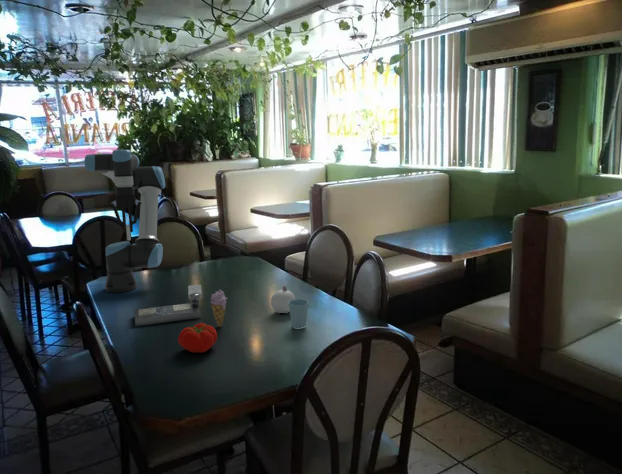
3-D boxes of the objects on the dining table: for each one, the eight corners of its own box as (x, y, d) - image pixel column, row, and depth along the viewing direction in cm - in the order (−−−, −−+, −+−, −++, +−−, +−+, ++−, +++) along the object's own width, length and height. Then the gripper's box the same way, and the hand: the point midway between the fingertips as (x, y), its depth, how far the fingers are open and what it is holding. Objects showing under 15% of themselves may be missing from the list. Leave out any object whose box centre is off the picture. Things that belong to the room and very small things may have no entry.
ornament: (299, 310, 217) (298, 284, 215) (288, 318, 208) (287, 290, 206) (278, 307, 222) (277, 281, 219) (267, 315, 213) (266, 287, 210)
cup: (302, 332, 194) (302, 306, 192) (285, 329, 197) (285, 303, 195) (311, 325, 200) (311, 300, 198) (295, 322, 204) (294, 298, 202)
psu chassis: (135, 316, 213) (134, 304, 212) (198, 308, 222) (197, 297, 221) (135, 326, 202) (134, 313, 201) (202, 317, 210) (201, 305, 209)
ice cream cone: (231, 324, 202) (230, 289, 199) (224, 330, 196) (222, 293, 193) (217, 323, 204) (215, 287, 201) (209, 328, 198) (207, 292, 195)
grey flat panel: (200, 288, 232) (200, 283, 231) (202, 300, 215) (201, 295, 215) (188, 289, 230) (188, 284, 230) (188, 301, 214) (188, 296, 213)
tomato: (182, 361, 170) (181, 336, 168) (176, 347, 181) (175, 324, 180) (222, 353, 175) (221, 330, 174) (214, 340, 187) (213, 318, 185)
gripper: (107, 187, 210) (113, 242, 215) (140, 186, 215) (144, 240, 219) (108, 186, 217) (113, 239, 222) (140, 184, 222) (144, 236, 226)
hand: (129, 239), depth 221 cm, fingers closed
